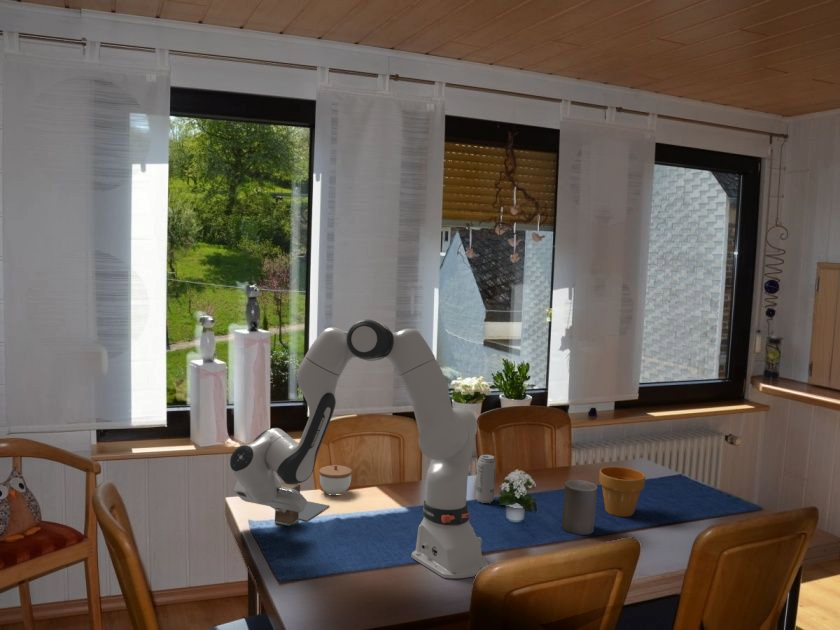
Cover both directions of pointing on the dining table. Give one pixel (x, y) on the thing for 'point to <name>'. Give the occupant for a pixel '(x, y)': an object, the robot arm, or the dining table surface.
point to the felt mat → (311, 510)
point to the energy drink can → (485, 479)
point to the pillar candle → (579, 507)
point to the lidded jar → (335, 479)
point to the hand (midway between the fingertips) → (281, 509)
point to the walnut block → (288, 516)
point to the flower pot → (621, 489)
